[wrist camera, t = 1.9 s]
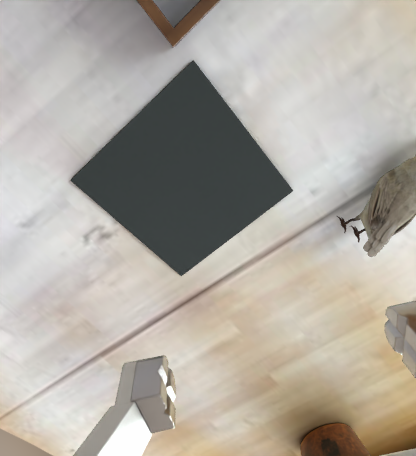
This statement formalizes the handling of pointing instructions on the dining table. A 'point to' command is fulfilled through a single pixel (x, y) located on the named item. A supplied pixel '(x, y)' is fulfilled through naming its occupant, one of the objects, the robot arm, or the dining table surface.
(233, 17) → the dining table surface
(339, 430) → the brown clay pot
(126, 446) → the robot arm
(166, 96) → the slate mat
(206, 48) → the dining table surface
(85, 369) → the dining table surface
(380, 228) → the decorative bird
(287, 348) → the dining table surface
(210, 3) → the wooden box
